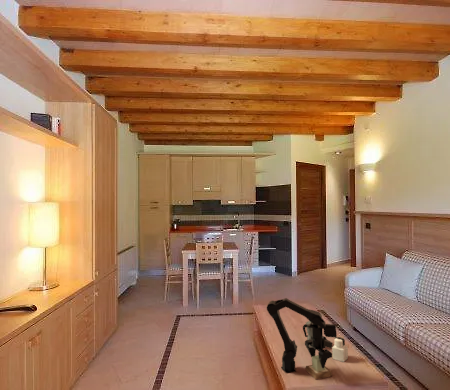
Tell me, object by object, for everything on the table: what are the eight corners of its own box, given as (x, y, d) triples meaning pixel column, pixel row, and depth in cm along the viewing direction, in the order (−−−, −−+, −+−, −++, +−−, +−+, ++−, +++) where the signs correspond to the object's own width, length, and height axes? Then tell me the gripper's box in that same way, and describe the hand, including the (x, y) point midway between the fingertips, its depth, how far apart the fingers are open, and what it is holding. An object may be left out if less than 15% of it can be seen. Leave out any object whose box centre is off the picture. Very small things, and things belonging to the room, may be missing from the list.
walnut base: (315, 379, 169) (315, 374, 169) (306, 370, 179) (305, 365, 179) (331, 376, 172) (331, 371, 172) (321, 367, 181) (321, 363, 182)
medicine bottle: (336, 354, 197) (335, 335, 198) (348, 357, 192) (347, 337, 193) (332, 359, 191) (331, 339, 192) (344, 362, 187) (343, 341, 187)
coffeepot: (315, 341, 217) (314, 315, 218) (326, 346, 209) (324, 319, 210) (298, 346, 210) (297, 319, 210) (308, 352, 201) (307, 323, 202)
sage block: (317, 371, 172) (316, 360, 173) (312, 367, 177) (311, 356, 177) (325, 369, 174) (324, 358, 174) (319, 365, 179) (319, 354, 179)
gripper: (340, 340, 170) (341, 369, 169) (320, 327, 187) (321, 354, 187) (322, 343, 166) (323, 373, 166) (303, 330, 184) (304, 357, 184)
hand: (318, 364), depth 176 cm, fingers open, 9 cm apart
